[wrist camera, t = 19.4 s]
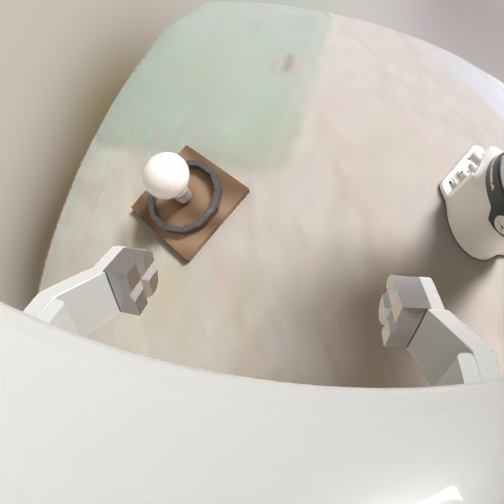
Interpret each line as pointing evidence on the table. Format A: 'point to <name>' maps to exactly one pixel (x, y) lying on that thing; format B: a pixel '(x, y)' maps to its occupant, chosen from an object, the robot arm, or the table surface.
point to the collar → (206, 216)
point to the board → (193, 206)
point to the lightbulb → (167, 177)
